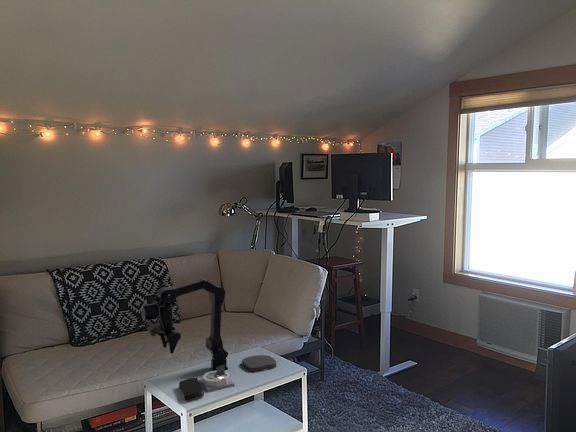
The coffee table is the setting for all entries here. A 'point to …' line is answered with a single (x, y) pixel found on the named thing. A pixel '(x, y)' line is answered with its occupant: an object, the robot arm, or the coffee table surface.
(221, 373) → the dial
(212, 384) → the dial panel
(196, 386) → the black sponge
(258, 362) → the media streaming box
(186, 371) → the coffee table surface
